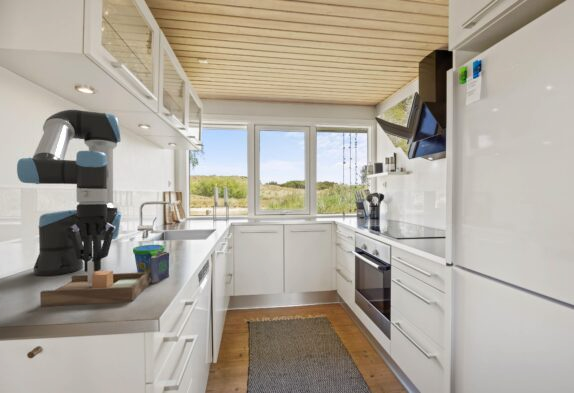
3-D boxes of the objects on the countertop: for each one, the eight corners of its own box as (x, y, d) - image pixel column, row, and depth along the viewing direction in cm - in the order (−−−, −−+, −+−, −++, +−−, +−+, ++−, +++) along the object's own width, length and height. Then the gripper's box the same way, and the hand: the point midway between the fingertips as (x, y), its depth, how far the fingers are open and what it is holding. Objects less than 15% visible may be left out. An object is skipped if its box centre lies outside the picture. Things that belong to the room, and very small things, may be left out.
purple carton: (155, 284, 94) (155, 252, 94) (147, 283, 94) (147, 252, 94) (170, 276, 103) (170, 247, 103) (163, 275, 103) (163, 246, 103)
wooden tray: (73, 287, 90) (73, 275, 90) (149, 284, 94) (149, 272, 94) (40, 306, 75) (40, 291, 75) (132, 301, 79) (132, 287, 79)
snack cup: (168, 276, 102) (168, 248, 102) (136, 282, 96) (136, 252, 96) (160, 267, 115) (159, 242, 115) (130, 271, 109) (130, 245, 109)
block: (99, 284, 86) (99, 271, 86) (113, 283, 87) (113, 270, 87) (92, 288, 82) (91, 275, 82) (106, 287, 83) (106, 274, 83)
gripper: (59, 203, 79) (60, 287, 79) (109, 203, 81) (110, 285, 81) (75, 202, 86) (76, 279, 87) (121, 202, 88) (121, 277, 89)
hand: (92, 281), depth 84 cm, fingers closed
